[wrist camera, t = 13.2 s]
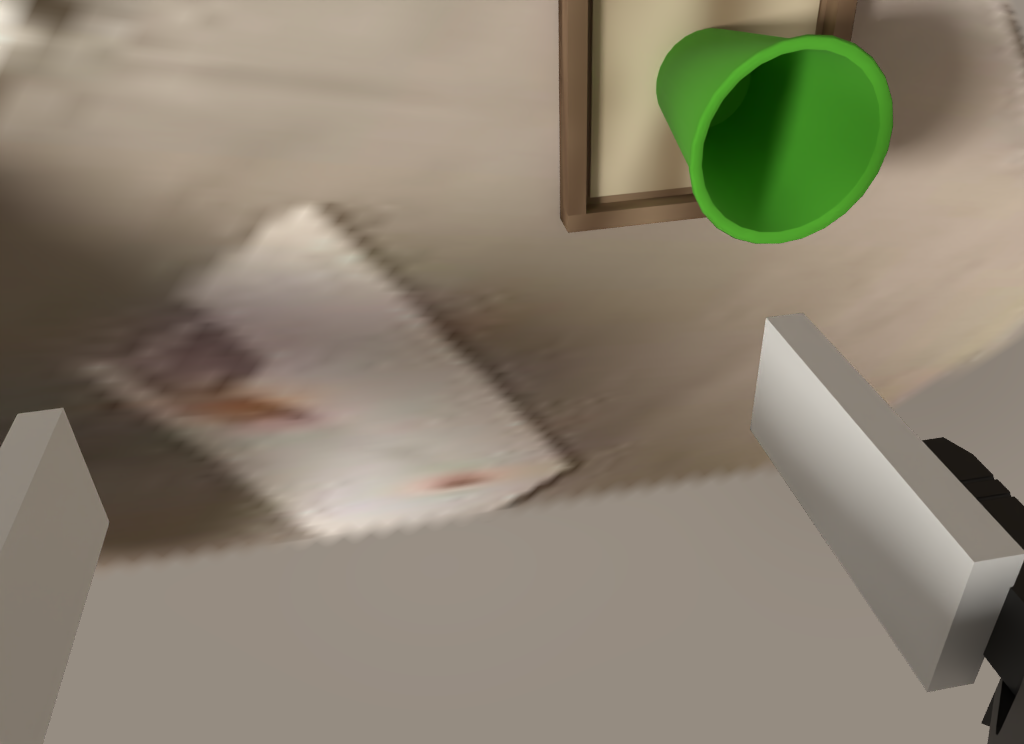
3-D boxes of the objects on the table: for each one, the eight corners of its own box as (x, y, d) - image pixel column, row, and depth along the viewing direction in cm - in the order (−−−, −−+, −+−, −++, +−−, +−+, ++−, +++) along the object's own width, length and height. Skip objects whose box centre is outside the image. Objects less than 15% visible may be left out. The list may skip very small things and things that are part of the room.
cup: (810, 89, 47) (925, 158, 38) (672, 193, 49) (750, 283, 40) (734, -55, 42) (846, -15, 33) (585, 67, 44) (651, 136, 35)
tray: (560, 218, 50) (568, 232, 48) (557, -74, 41) (567, -69, 40) (806, 191, 52) (822, 204, 50) (851, -94, 43) (872, -90, 42)
